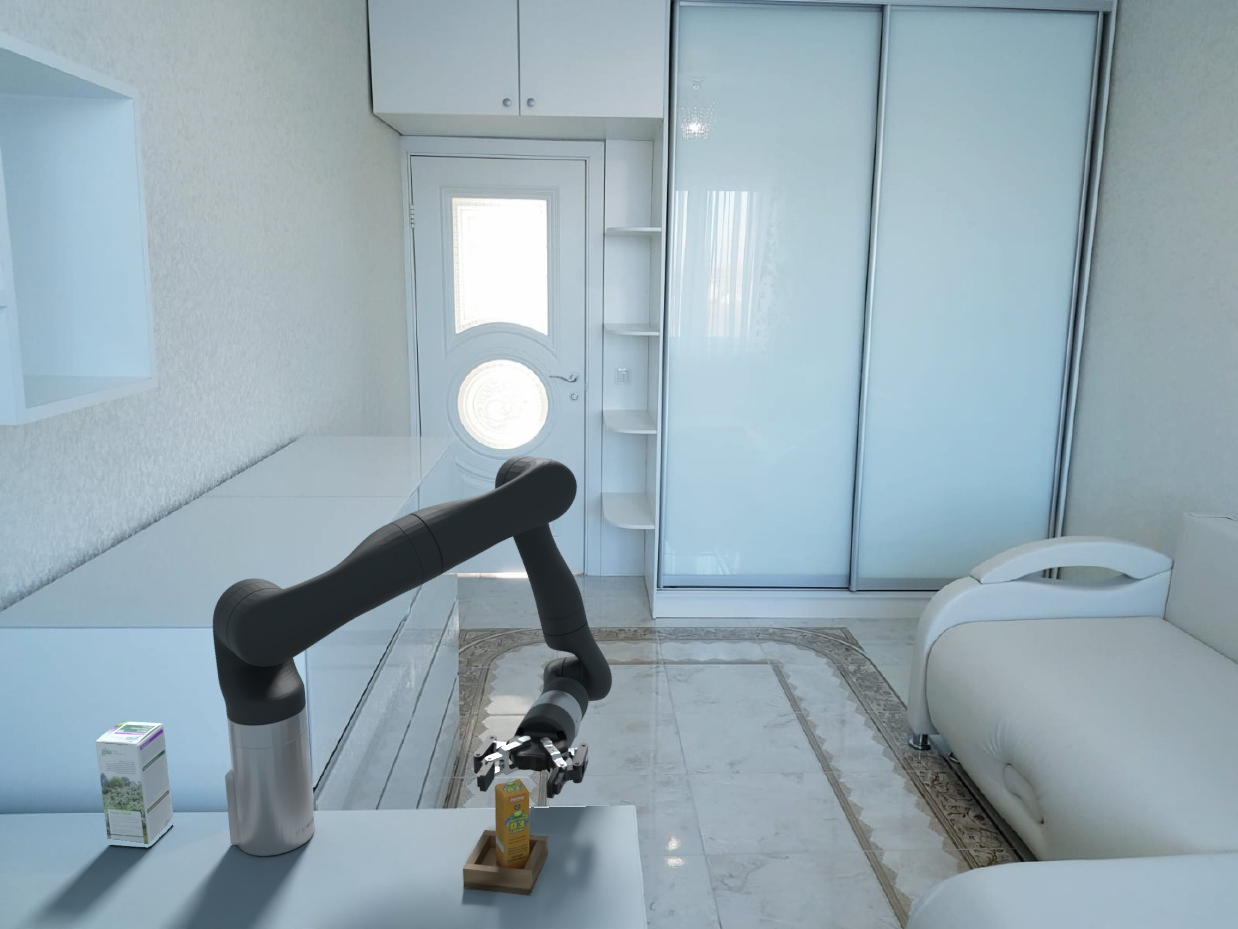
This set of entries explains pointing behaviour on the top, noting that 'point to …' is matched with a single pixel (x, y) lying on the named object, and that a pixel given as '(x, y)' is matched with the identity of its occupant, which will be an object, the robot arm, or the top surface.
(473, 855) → the tray
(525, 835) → the supplement box
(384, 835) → the top surface
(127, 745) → the syrup box
